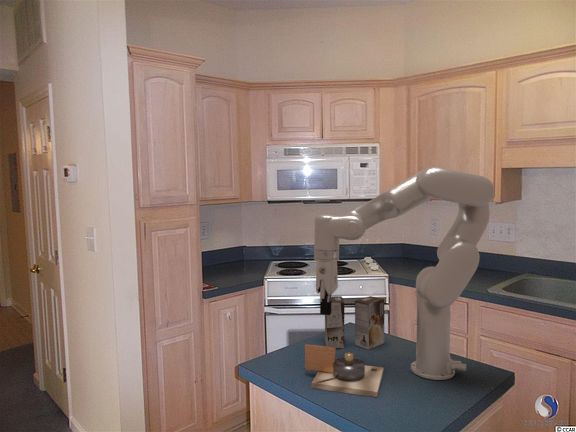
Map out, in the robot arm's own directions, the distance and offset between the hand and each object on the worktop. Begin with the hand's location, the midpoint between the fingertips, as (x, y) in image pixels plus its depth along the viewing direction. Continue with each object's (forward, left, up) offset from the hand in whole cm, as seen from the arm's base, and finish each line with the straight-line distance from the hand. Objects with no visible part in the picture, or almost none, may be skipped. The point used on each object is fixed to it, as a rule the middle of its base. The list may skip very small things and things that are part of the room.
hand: (325, 313), depth 135 cm
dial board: (-8, +7, -17) cm, 20 cm away
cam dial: (-4, +7, -15) cm, 17 cm away
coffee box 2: (-10, -23, -17) cm, 30 cm away
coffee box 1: (+2, -20, -17) cm, 26 cm away
